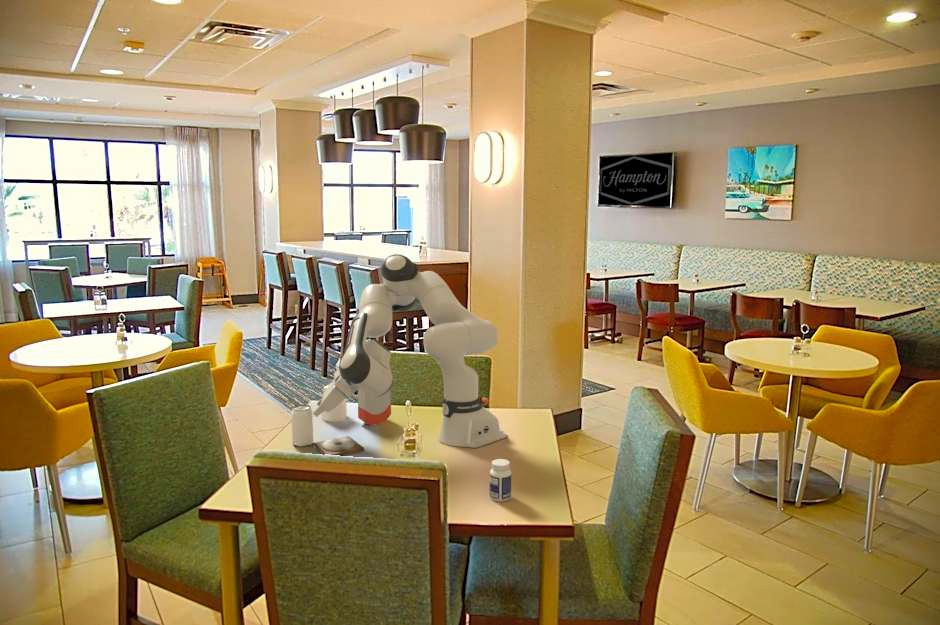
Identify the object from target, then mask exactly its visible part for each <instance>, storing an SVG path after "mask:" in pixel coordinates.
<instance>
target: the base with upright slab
mask: <svg viewBox="0 0 940 625" xmlns="http://www.w3.org/2000/svg"><path fill="white" fill-rule="evenodd" d="M328 386H329V384H327V385H326V386H324V387H323V389H322V391H323V393H322V394H323V395H322V397H323V396H324V394H325V391H326V389H327V387H328ZM347 408H348V407H347V398H346V399H345V400H343V401H342V402H341V403H340V404H339V405H338V406H336V407H335V408H334V409H333V410H331V411H330V412H326V411H324V412H322V413H321V414H320V419H321V420H322V421H325V422H340V421H339V420H341V421H343V420H342V419H344V420H346V419H347V417H348V416H347V411H348V410H347Z"/></svg>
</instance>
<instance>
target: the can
mask: <svg viewBox="0 0 940 625" xmlns="http://www.w3.org/2000/svg"><path fill="white" fill-rule="evenodd" d="M311 408H312V407H311V405H310V404H296V405H294V406H293V407H292V410H291V417H290V418H291V436H292V437H291V438H292V445H293V444H294V445H297V446H305V447H307V446H306V445H309V446H311V445H313V443H314V425H313V423H314V422H313V421H314V420H313V409H311ZM310 444H311V445H310ZM297 446H296V447H297Z"/></svg>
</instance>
